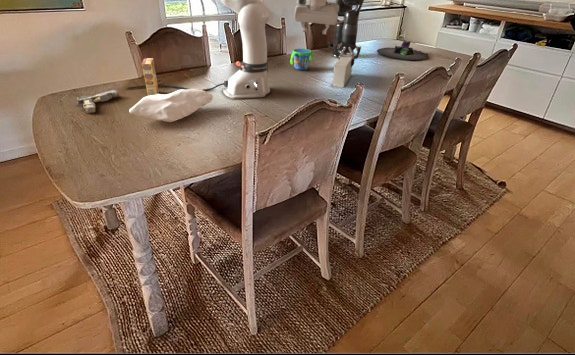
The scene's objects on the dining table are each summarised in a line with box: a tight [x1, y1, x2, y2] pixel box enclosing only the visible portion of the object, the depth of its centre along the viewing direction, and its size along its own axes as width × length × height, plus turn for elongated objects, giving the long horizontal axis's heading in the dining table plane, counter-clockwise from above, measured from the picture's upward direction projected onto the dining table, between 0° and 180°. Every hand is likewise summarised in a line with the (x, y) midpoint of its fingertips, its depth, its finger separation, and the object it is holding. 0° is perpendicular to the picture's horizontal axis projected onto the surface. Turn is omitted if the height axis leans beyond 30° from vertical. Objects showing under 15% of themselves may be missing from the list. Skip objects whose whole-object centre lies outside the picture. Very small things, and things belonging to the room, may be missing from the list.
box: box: [332, 54, 353, 88], centre depth 193 cm, size 22×6×11 cm, turn 162°
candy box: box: [141, 57, 160, 96], centre depth 163 cm, size 9×4×15 cm, turn 13°
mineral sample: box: [376, 40, 430, 61], centre depth 247 cm, size 35×35×9 cm
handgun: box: [76, 89, 120, 114], centre depth 155 cm, size 3×18×15 cm
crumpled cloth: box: [129, 88, 214, 123], centre depth 147 cm, size 24×35×9 cm
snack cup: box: [289, 48, 314, 71], centre depth 208 cm, size 16×10×10 cm
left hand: (314, 33), depth 171 cm, fingers open, 8 cm apart
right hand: (345, 65), depth 198 cm, fingers closed on box, 5 cm apart
